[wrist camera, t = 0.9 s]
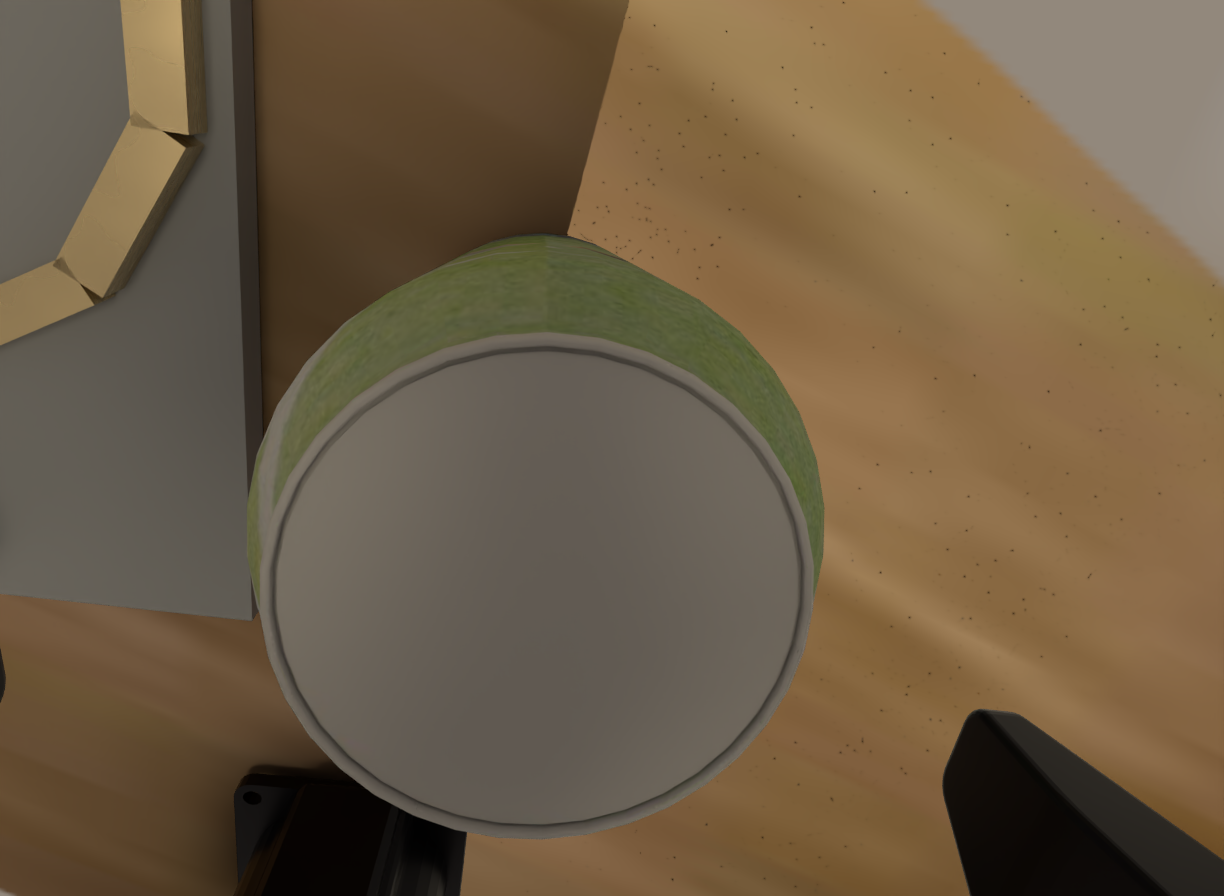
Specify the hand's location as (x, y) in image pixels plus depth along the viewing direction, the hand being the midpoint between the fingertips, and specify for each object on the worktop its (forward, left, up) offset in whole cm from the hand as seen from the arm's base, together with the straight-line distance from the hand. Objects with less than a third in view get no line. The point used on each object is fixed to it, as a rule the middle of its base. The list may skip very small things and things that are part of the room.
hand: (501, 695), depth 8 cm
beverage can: (0, 0, -12) cm, 12 cm away
